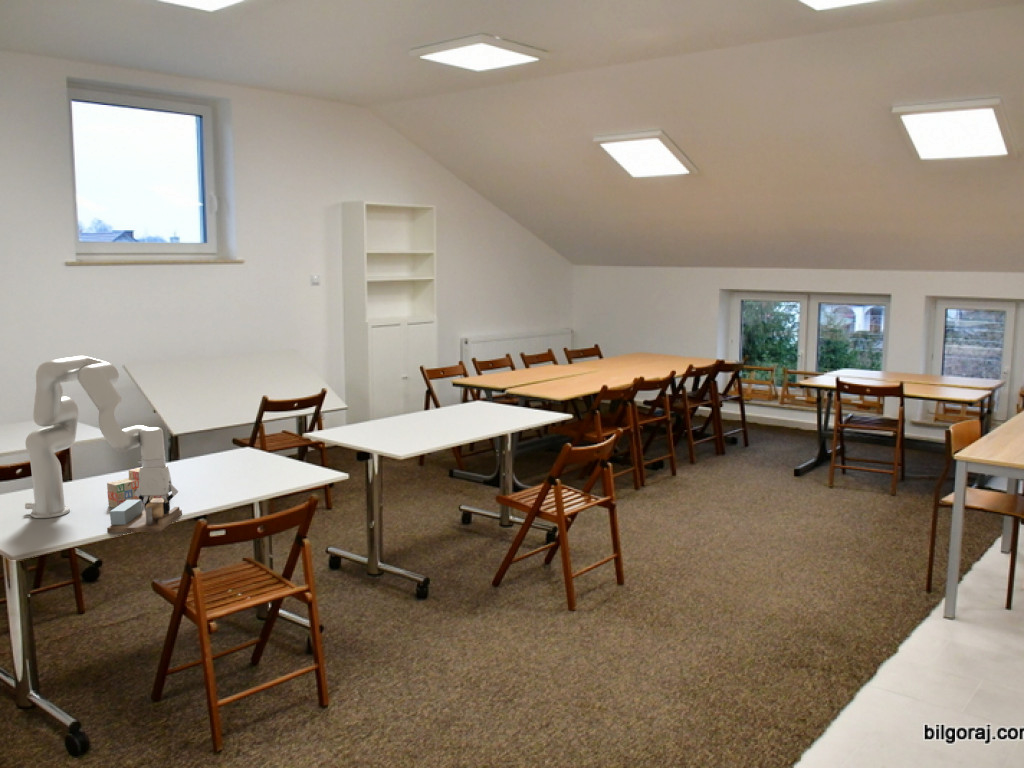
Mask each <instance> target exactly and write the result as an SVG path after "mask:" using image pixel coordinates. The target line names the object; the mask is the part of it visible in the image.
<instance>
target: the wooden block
mask: <svg viewBox="0 0 1024 768" xmlns="http://www.w3.org/2000/svg"><path fill="white" fill-rule="evenodd" d="M163 503H164V500H163V498H153V499H152V500H150V502H149V503H148V504H147V505H146V507H152V518H160V517H163V515H164V508H163Z"/></svg>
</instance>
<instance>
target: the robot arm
mask: <svg viewBox="0 0 1024 768" xmlns="http://www.w3.org/2000/svg"><path fill="white" fill-rule="evenodd" d="M119 377H120V374H119V371H118V369H117V367H116V366H115V365H113V363H111V362H108V361H105V360H101V359H98V358H97V359H96V358H93V357H90V356H85V355H77V356H71V357H63V358H55V359H51V360H48V361H44V362H42V363H41V364H40V365H38V368H37V369H36V373H35V387H36V388H35V396H34V403H33V404H34V405H33V413H32V417H33V421H34V423H35V424H36V425H37V426H38V427H43V428H40V429H39V428H38V429H36V430H33V431H32V432H30V433H29V434H28V435H27V436H26V438H25V448H26V451H27V454H28V459H29V462H30V470H31V480H32V489H33V499H34V502H25V504H24V509H25V510H32V511H30V516H31V517H32V518H33V519H49V518H55V517H60V516H63V515H67V514H68V513H69V512H70V510H71V507H70V506H67V505H66V504H65V496H64V495H65V494H64V484H63V474H62V473H63V471H62V465H61V462H60V459H58V456H57V455H56V453H57V452H62V451H64V450H67V449H70V448H71V447H72V446H73V445H74V443H75V441H76V437H77V428H78V419H79V407H78V405H77V402H76V401H75V400H74V399H73V398H71V397H69V396H63V395H64V394H63V391H64V390H63V386H62V383H68V382H73V381H78V383H79V384H80V386H81V387H82V388H83V390H84V391H85V393H86V394H87V396H88V397H89V398H90V400H91V401H92V403H93V404H94V406H95V407H96V408H97V410H98V425H99V426H98V427H99V431H100V432H101V434H102V436H103V437H104V439H105V440H106V441H107V443H108V444H109V446H110V447H112V448H113V449H114V450H115V451H118V452H127V451H130V450H132V449H135V448H136V449H137V448H139V447H140V455H141V458H140V459H138V461H137V463H138V464H139V465H140V464H141V468H140V467H139V468H140V471H139V487H138V489H137V490H136V491H135V492H134V494H135V495H136V496H137V497H139V498H140V499H141V500H142V501H143V502H142V504H144V509H145V508H146V505H147V504H148V503H149V502H150V501H151V500H150V496H162V497H163V500H164V503H163V508H164V514H167V513H168V512H169V510H171V503H170V502H171V500H172V498H174V497H175V496H176V495H177V494H178V493H179V490H178V489H177V488H176V487H175V486H174V485H173V484H172V478H171V473H170V469H169V466H168V465H167V464H166V463H167V462H166V454H165V453H166V451H165V439H164V431H163V429H162V427H157V426H150V427H149V426H145V425H143V424H142V425H141V424H137V425H133V426H128V427H124V428H121V426H120V424H119V423H118V422H117V420H116V416H115V410H116V408H118V406H120V404H121V402H122V399H123V398H122V396H121V394H120V393H119V392H118V391H117V389H116V388H115V386H114V385H115V384H116V383H118V381H119ZM170 492H172V493H170ZM169 493H170V494H169Z"/></svg>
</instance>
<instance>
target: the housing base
mask: <svg viewBox="0 0 1024 768" xmlns="http://www.w3.org/2000/svg"><path fill="white" fill-rule="evenodd" d="M161 498H163V497H162V496H161ZM181 515H183V510H182V509H180V506H174V507H173V508H172V509H170V510H169V512H168V513H167V514H164V515H163V517H160V518H152V507H146V508H145V507H144V510H142V513H141V514H139V515H138V516H137V517H135V518H134V519H133V520H131V521H130V522H128V523H127V524H126V525H111V524H110V526H108V527H107V528H106V531H107V533H140V532H141V533H143V532H145V533H146V532H147V533H148V532H149V533H151V532H152V533H153V532H158V533H159V532H162V531H163V530H164V529H166V528H167V527H168V526H170V524H172V523H173V522H174V521H175V520H176V519H178V518H179V517H180V516H181Z"/></svg>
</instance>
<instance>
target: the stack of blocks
mask: <svg viewBox="0 0 1024 768" xmlns="http://www.w3.org/2000/svg"><path fill="white" fill-rule="evenodd" d="M141 467H142V466H141ZM141 467H136V468H132V469H128V470H127V471H128V477H127V478H123V479H118V480H114V481H109V482H106V489H107V501H108V502H107V503H108V507H110V508H112V509H114V508H116V507H117V506H119V505H120V504H122V503H123V502H125V501H126V500H141V499H140V498H139V497H137V496H136V495H135V494H134V492H135V491H136V490H137V489H138V487H139V471H140V468H141ZM153 498H161V496H150V501H151V500H152V499H153ZM141 502H142V503H143V501H142V500H141Z"/></svg>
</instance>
